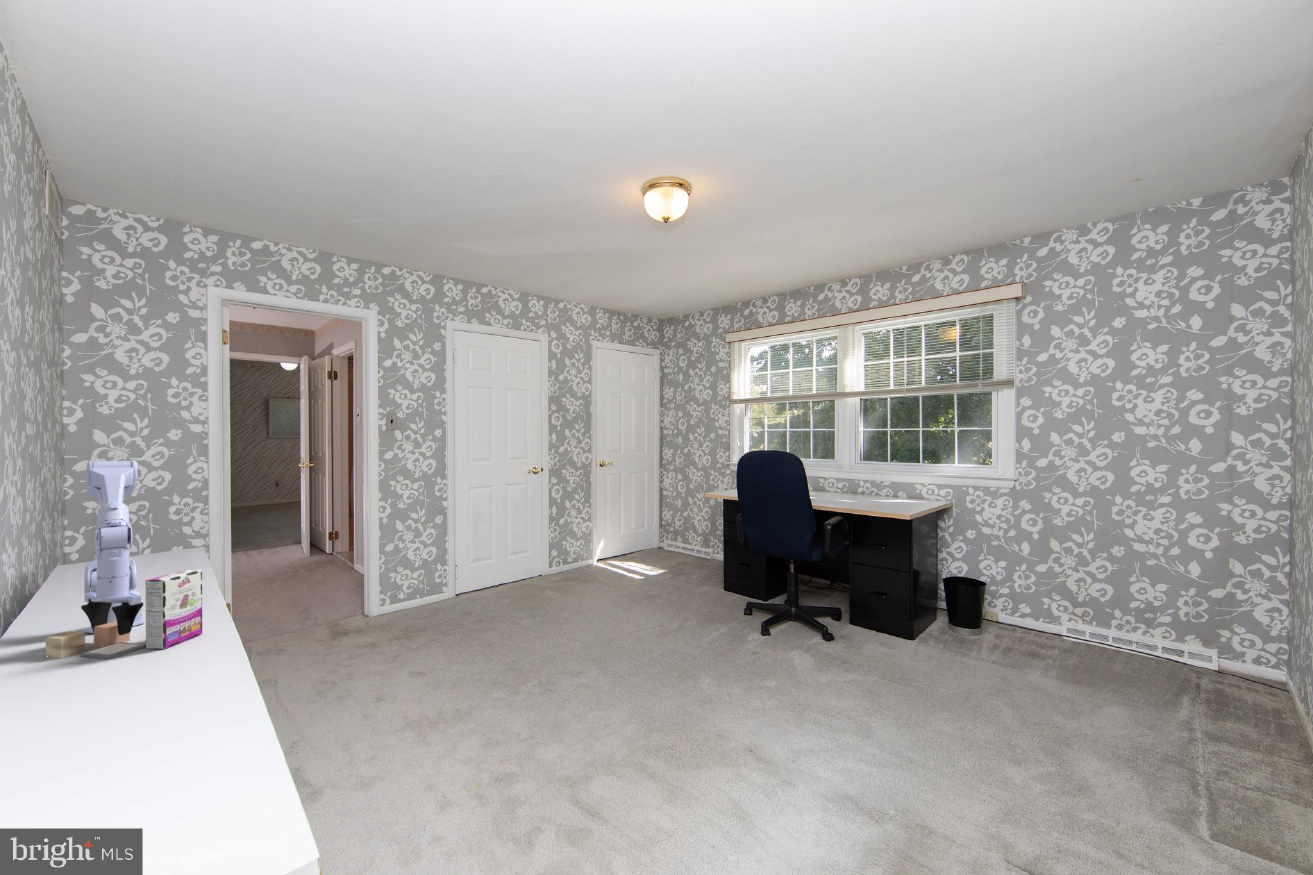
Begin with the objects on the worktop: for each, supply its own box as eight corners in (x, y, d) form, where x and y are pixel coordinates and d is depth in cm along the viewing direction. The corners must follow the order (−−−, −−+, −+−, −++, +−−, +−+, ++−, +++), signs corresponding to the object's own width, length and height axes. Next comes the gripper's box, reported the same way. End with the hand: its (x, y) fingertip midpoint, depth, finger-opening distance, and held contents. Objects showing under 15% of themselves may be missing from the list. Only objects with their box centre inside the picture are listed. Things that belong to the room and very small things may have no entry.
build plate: (119, 644, 137) (119, 641, 137) (146, 646, 136) (146, 643, 136) (79, 656, 129) (80, 653, 129) (107, 659, 128) (108, 655, 128)
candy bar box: (183, 634, 145) (184, 569, 145) (203, 634, 145) (204, 569, 145) (143, 649, 134) (144, 579, 134) (164, 650, 134) (165, 579, 134)
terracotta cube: (114, 639, 141) (115, 621, 141) (129, 640, 140) (129, 622, 140) (93, 645, 136) (94, 626, 136) (108, 647, 136) (109, 628, 136)
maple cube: (69, 650, 133) (69, 630, 133) (84, 651, 132) (85, 632, 133) (45, 657, 129) (45, 637, 129) (61, 658, 128) (61, 638, 128)
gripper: (69, 578, 136) (68, 636, 136) (118, 581, 133) (117, 640, 133) (103, 572, 143) (102, 627, 143) (150, 574, 140) (149, 630, 140)
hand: (112, 632), depth 138 cm, fingers open, 7 cm apart
